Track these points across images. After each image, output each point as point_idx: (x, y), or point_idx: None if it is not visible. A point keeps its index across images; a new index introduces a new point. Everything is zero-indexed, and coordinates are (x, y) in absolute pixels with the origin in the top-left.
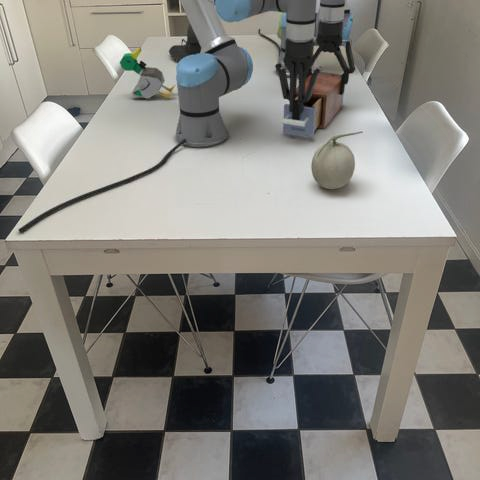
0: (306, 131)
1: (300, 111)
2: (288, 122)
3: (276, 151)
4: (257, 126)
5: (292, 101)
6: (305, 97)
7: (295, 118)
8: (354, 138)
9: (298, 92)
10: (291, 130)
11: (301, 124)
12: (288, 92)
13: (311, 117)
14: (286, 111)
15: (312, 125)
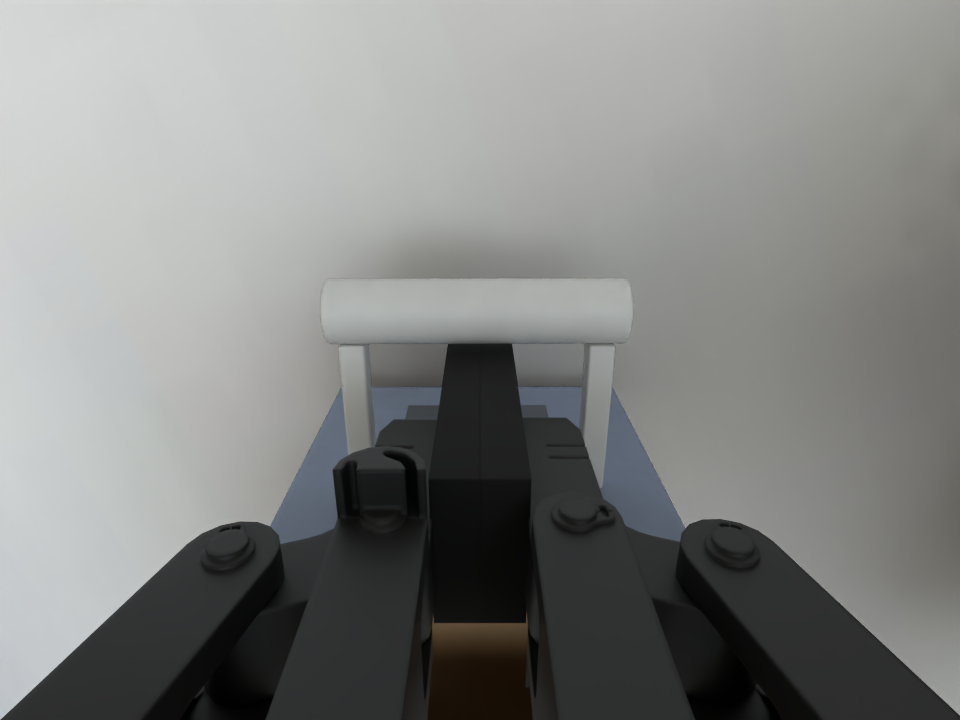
0: (394, 408)
1: (398, 435)
2: (534, 281)
3: (567, 43)
4: (858, 468)
5: (540, 500)
6: (223, 592)
7: (463, 361)
8: (88, 523)
9: (398, 682)
10: (540, 401)
11: (353, 280)
12: (707, 713)
13: (317, 490)
14: (639, 507)
15: (322, 441)
